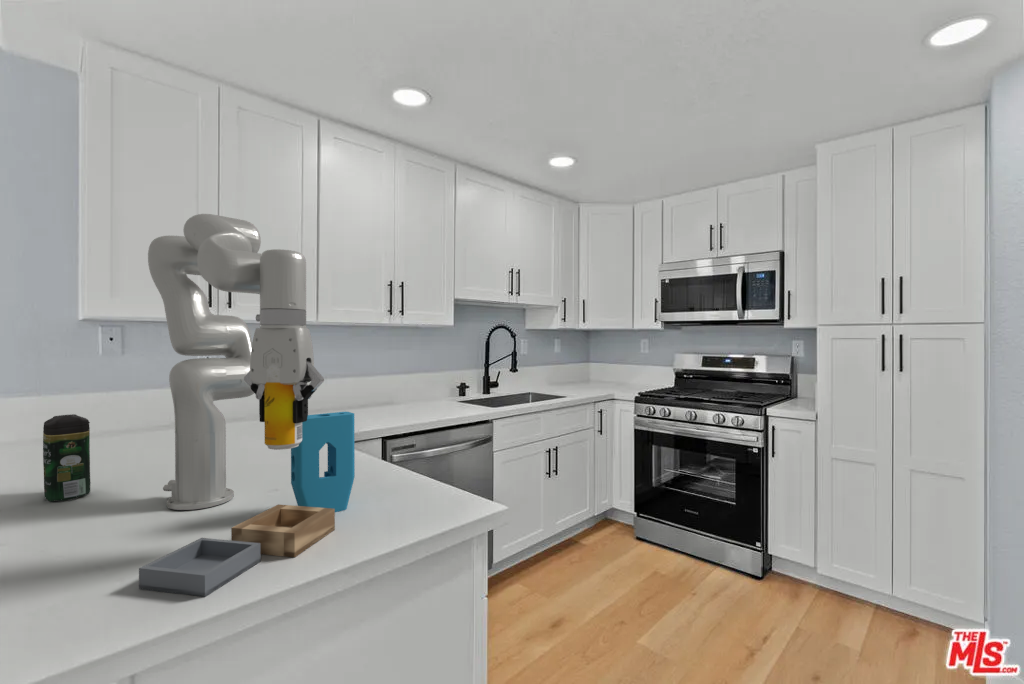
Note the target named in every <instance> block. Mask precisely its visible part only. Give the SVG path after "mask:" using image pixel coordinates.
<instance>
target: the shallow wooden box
mask: <svg viewBox="0 0 1024 684" xmlns="http://www.w3.org/2000/svg"><path fill="white" fill-rule="evenodd" d="M335 517H336V512H335V509H332V508H319V507H306V506H298V505H289V504H276V505H274V506H272V507H271V508H269V509H267V510H264V511H262V512H260V513H258V514H256V515H254V516H252V517H250V518H248V519H246V520H245V521H244V520H243V521H242V522H240V523H237V524H236V525H234V526H232V527H231V529H230V530H231V531H230V532H231V533H230V534H231V536H230V537H231V540H232V541H242V542H253V543H260V554H261V555H265V556H266V555H267V556H275V557H285V558H286V557H287V558H296V557H298V556H300V555H301V554H302V553H304V552H305V551H306V550H308V549H309V548H311V547H312V546H313V545H315V544H317V543H318V542H319V541H321V540H322V539H324V538H325V537H327V536H328V535H329V534H331V533H333V532H334V531H335V529H336V526H335V525H336V524H335V523H336V520H335V519H336V518H335Z"/></svg>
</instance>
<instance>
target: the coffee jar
mask: <svg viewBox="0 0 1024 684" xmlns="http://www.w3.org/2000/svg"><path fill="white" fill-rule="evenodd" d="M90 423H91V422H90V421H89V419H88V418H86V417H83V416H80V415H77V414H76V413H75V414H74V413H73V414H72V413H71V414H61V415H54V416H53V417H51V418H49V419H47V420H45V421H44V422H43V427H42V428H43V432H42V436H43V437H42V438H43V440H42V462H43V463H42V464H43V493H44V494H43V495H44V498H45V499H46V500H47V501H49V502H60V501H63V502H64V501H72V500H76V499H77V498H81V497H84V496H85V497H86V496H88V495H89V494H90V493H91V454H90V453H91V451H90V450H91V449H90V446H91V443H90V442H91V441H90V439H91V438H90V431H91V430H90V429H91V427H90Z"/></svg>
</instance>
